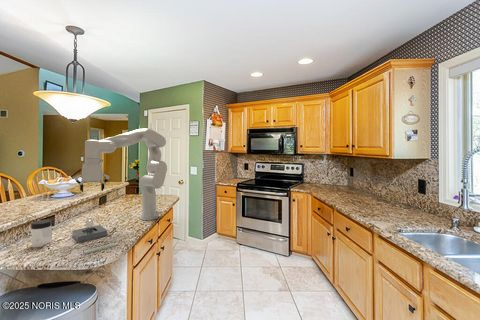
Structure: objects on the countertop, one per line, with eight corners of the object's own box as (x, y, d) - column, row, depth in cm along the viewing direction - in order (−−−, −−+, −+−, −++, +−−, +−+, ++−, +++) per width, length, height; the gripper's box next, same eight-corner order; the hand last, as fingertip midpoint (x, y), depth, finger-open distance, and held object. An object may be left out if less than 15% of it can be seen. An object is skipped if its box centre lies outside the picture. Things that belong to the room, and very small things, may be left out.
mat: (109, 239, 127) (109, 237, 127) (117, 245, 119) (117, 244, 119) (79, 246, 117) (79, 245, 117) (85, 254, 109) (85, 252, 109)
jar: (26, 248, 116) (25, 224, 115) (37, 242, 124) (36, 220, 123) (47, 246, 118) (46, 223, 117) (56, 240, 126) (55, 218, 125)
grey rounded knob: (94, 233, 134) (93, 217, 134) (97, 235, 130) (96, 220, 130) (82, 235, 130) (82, 220, 130) (85, 238, 126) (84, 222, 126)
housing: (100, 231, 140) (100, 224, 140) (107, 237, 130) (107, 230, 130) (72, 237, 130) (72, 230, 130) (77, 244, 120) (77, 237, 120)
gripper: (109, 161, 140) (108, 189, 140) (74, 161, 130) (73, 191, 130) (110, 161, 134) (110, 190, 134) (74, 161, 124) (73, 193, 124)
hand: (92, 191), depth 132 cm, fingers open, 9 cm apart
